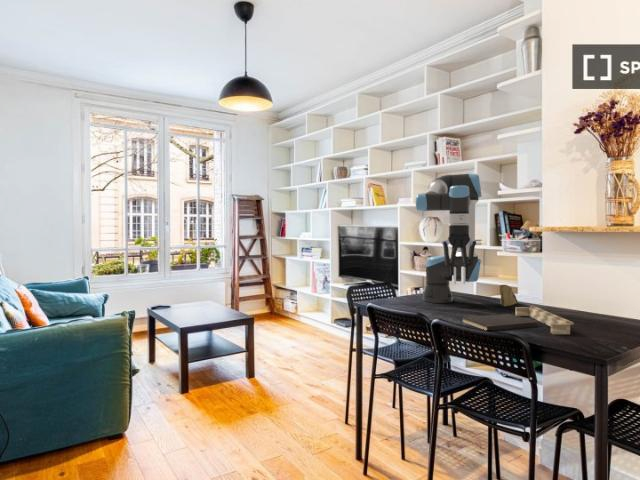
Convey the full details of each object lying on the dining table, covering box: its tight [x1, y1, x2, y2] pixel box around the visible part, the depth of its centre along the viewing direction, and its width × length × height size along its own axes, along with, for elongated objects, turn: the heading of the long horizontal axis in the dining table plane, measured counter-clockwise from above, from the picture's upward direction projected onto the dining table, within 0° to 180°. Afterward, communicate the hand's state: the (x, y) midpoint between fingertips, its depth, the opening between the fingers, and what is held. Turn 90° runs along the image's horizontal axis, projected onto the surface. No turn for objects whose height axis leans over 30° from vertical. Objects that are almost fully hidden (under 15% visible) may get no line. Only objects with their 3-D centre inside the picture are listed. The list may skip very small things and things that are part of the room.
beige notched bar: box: [514, 304, 574, 335], centre depth 171 cm, size 31×8×4 cm, turn 178°
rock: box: [499, 284, 519, 307], centre depth 210 cm, size 11×9×10 cm
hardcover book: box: [461, 313, 538, 332], centre depth 171 cm, size 16×23×2 cm
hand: (458, 283), depth 171 cm, fingers open, 3 cm apart
